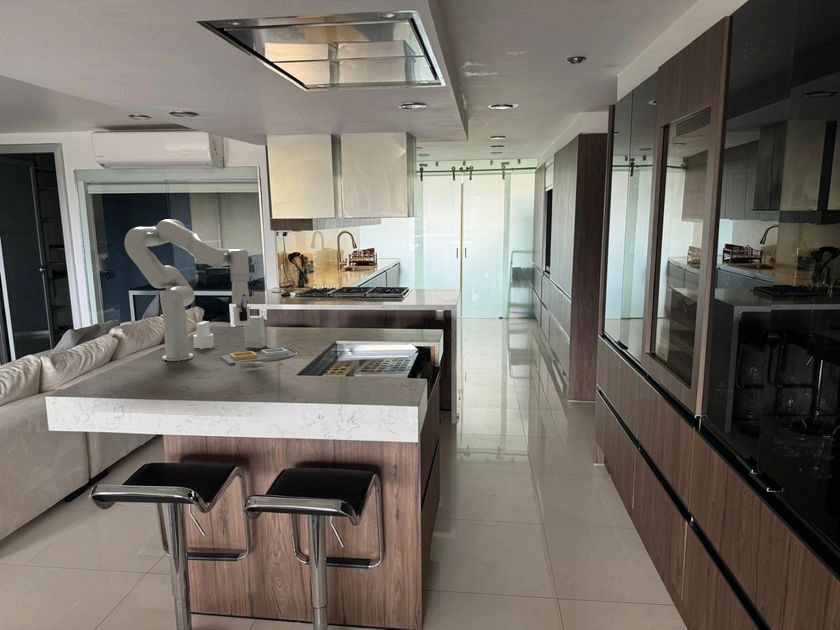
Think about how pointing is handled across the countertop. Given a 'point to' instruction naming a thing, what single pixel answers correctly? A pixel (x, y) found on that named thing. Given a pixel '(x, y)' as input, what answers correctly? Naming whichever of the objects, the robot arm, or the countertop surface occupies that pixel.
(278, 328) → the countertop surface
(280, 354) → the socket panel
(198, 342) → the base with upright slab
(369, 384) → the countertop surface
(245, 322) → the plug
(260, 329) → the skincare box
